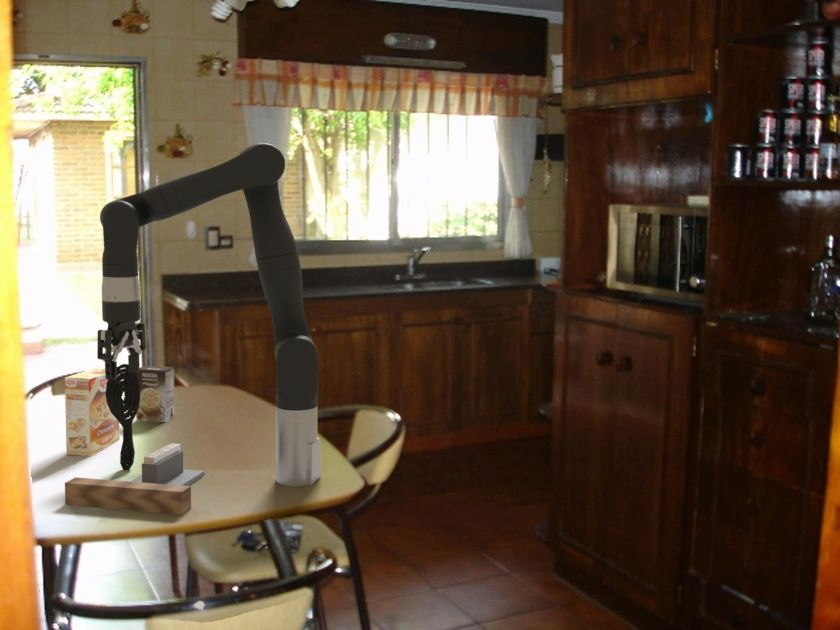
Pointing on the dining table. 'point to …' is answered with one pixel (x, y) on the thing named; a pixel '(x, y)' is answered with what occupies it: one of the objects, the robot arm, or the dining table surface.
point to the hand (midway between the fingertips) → (123, 375)
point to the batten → (128, 495)
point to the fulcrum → (167, 468)
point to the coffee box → (156, 394)
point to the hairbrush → (124, 408)
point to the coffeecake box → (88, 414)
